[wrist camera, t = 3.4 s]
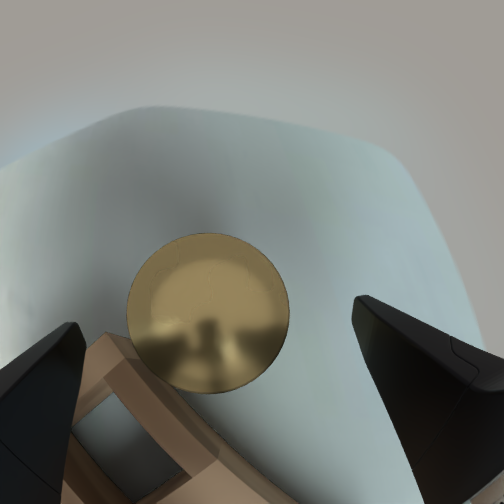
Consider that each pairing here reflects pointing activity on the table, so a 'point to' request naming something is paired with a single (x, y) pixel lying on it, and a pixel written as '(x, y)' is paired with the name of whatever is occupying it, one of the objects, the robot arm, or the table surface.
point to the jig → (158, 439)
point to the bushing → (208, 313)
